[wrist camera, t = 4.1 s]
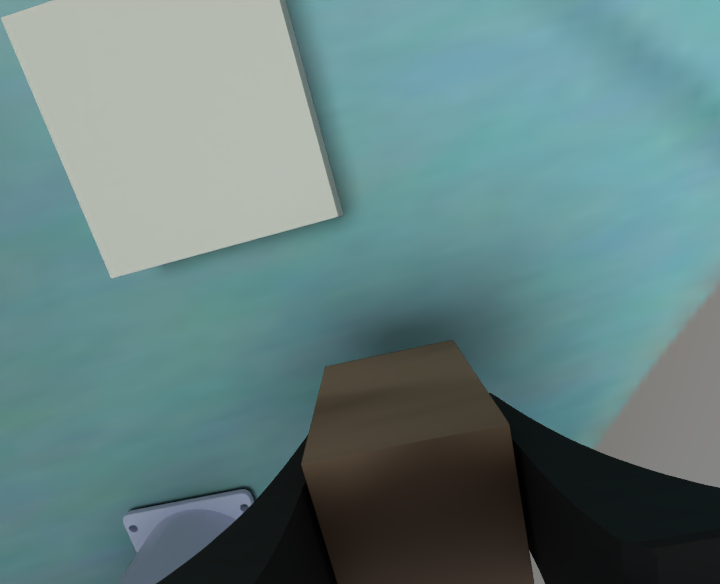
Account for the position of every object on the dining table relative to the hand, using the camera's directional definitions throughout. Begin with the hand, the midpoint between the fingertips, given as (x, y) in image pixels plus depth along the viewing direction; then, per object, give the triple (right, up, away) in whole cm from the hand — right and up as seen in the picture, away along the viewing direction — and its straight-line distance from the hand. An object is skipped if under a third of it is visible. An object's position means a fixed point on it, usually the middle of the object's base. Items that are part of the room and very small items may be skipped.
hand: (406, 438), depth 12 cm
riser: (-8, +12, +6) cm, 16 cm away
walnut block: (0, 0, +1) cm, 2 cm away
